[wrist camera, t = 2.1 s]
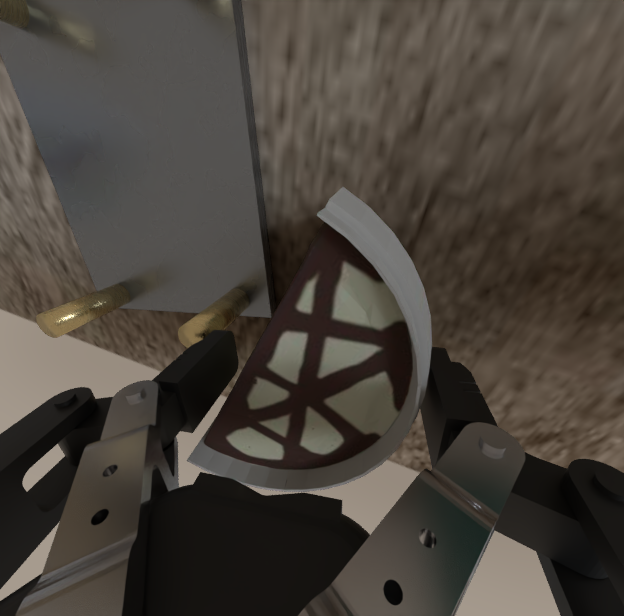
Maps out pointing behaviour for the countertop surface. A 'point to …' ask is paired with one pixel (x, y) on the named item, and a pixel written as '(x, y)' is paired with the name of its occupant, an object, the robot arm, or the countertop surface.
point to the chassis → (148, 153)
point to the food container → (329, 364)
